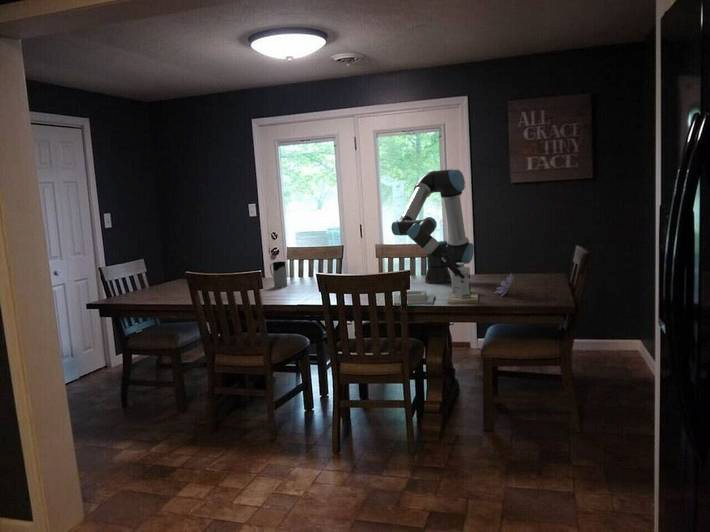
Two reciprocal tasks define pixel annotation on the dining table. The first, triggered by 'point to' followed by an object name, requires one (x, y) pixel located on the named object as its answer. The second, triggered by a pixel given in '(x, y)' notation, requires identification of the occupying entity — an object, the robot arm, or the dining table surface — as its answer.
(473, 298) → the ash board
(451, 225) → the robot arm
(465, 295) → the syrup box
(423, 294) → the collar holder
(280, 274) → the glass holder
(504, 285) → the water lily
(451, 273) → the pill bottle
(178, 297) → the dining table surface
